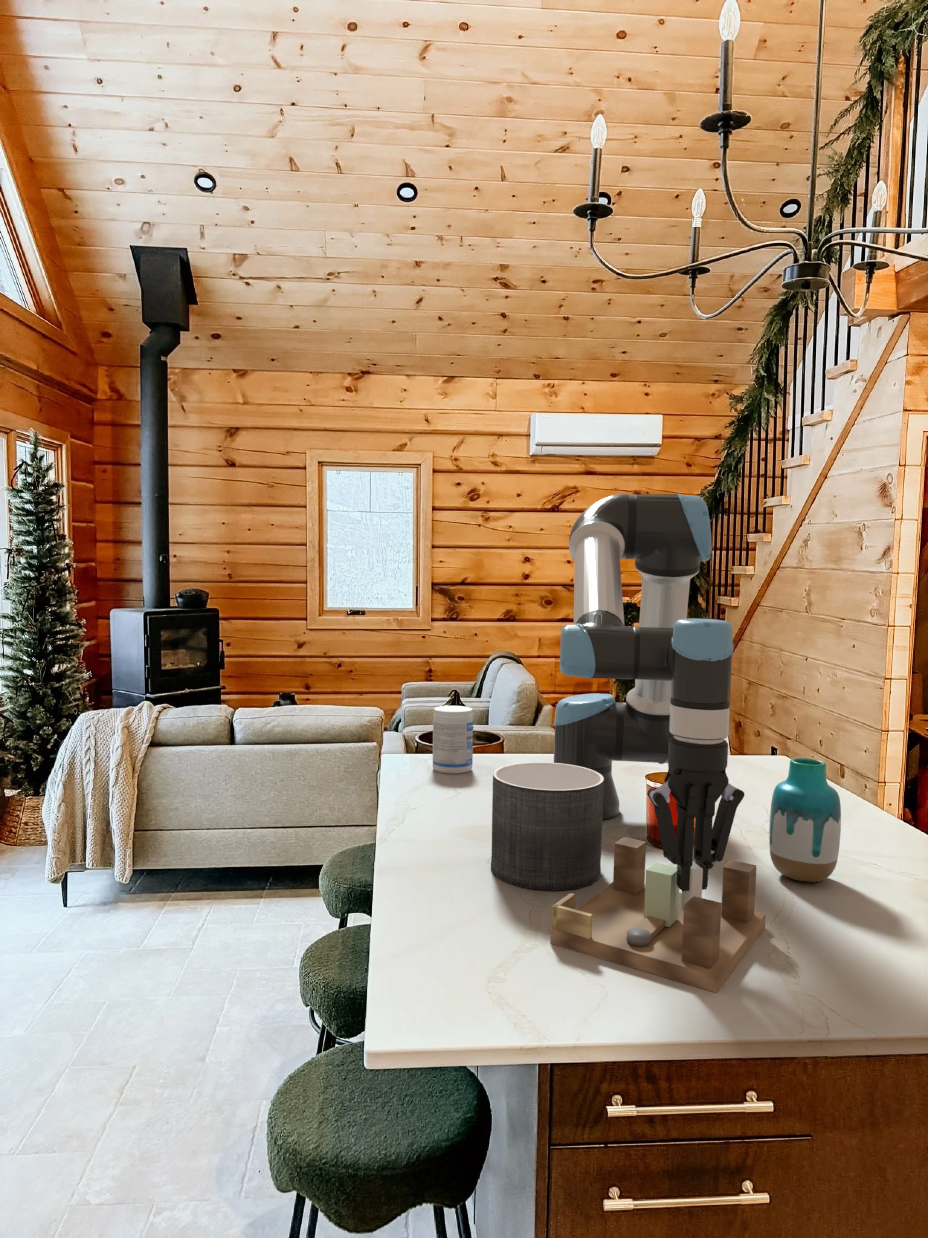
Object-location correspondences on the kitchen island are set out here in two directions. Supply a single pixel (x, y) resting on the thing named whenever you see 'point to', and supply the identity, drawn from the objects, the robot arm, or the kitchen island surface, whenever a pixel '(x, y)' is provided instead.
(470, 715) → the supplement tub
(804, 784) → the vase
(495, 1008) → the kitchen island surface
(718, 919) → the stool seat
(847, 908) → the kitchen island surface
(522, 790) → the planter
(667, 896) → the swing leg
